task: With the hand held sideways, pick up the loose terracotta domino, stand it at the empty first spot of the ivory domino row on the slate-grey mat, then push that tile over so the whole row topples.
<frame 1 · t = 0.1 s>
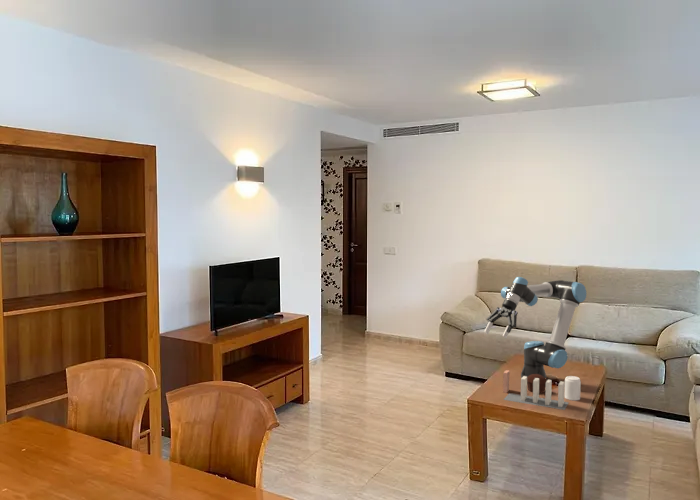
hand: (494, 334, 305), 36 cm above the table, tool tilted 35°, fingers open, 13 cm apart
domino 4: (548, 403, 297), point 1 cm above the table, touching mat
domino 5: (560, 405, 294), point 1 cm above the table, touching mat
domino 3: (535, 401, 300), point 1 cm above the table, touching mat
muffin: (536, 392, 318), on the table
beverage can: (572, 399, 305), on the table
mat: (535, 402, 300), on the table
domino 2: (523, 399, 304), point 1 cm above the table, touching mat
domino 1: (506, 392, 317), on the table
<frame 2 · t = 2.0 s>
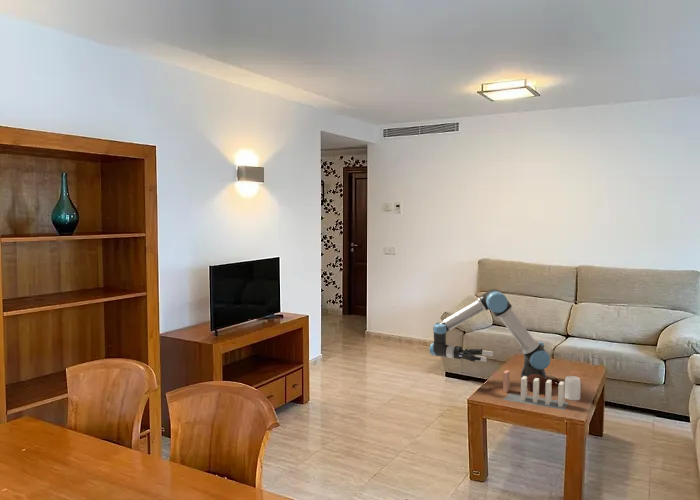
hand: (489, 356, 321), 19 cm above the table, tool horizontal, fingers open, 13 cm apart
nothing on the table moved.
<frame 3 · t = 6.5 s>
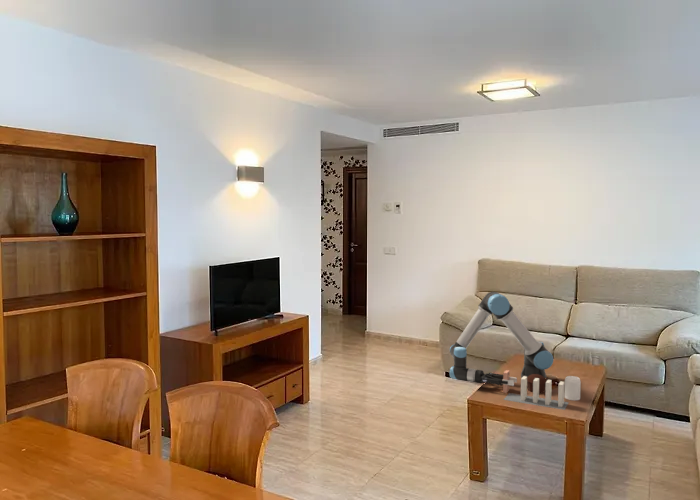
hand: (515, 381, 314), 7 cm above the table, tool horizontal, fingers closed on domino 1, 6 cm apart
domino 1: (506, 392, 317), on the table, touching gripper
everything else where it was.
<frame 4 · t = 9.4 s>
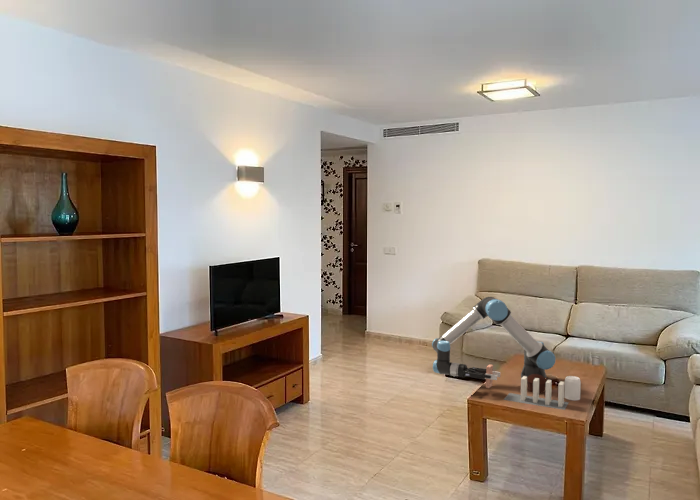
hand: (498, 376, 310), 11 cm above the table, tool horizontal, fingers closed on domino 1, 6 cm apart
domino 1: (489, 386, 313), point 5 cm above the table, touching gripper
everything else where it was.
when the fingers open (9 cm above the table, at t = 12.5 s): domino 1 drops 1 cm, resting on mat.
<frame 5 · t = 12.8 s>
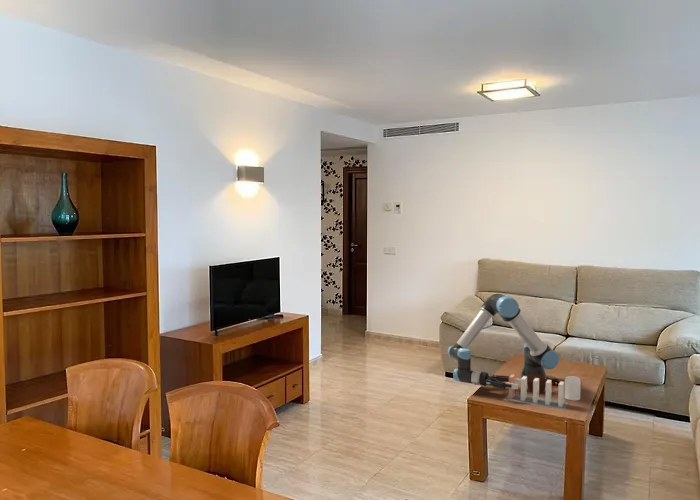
hand: (520, 384, 304), 9 cm above the table, tool horizontal, fingers open, 9 cm apart
domino 1: (511, 397, 307), point 1 cm above the table, touching mat
everything else where it was.
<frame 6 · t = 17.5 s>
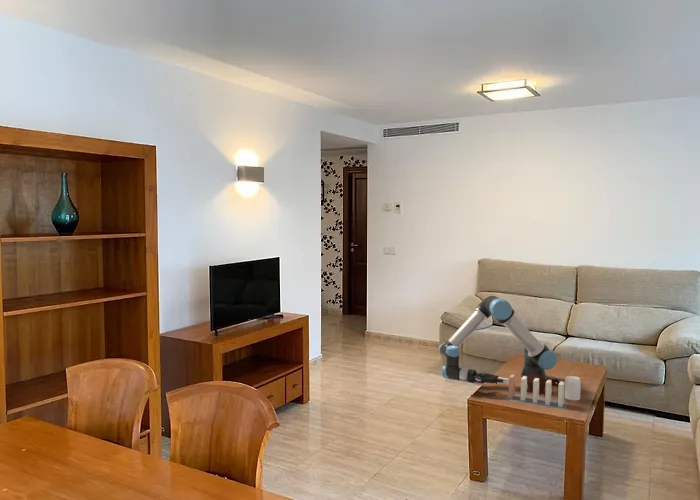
hand: (509, 381, 307), 9 cm above the table, tool horizontal, fingers closed
domino 1: (511, 397, 307), point 1 cm above the table, touching gripper, mat
everything else where it was.
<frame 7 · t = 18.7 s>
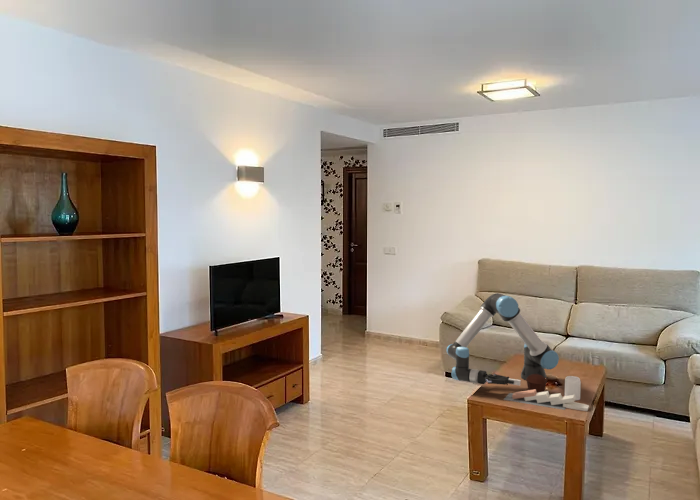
hand: (520, 382, 304), 9 cm above the table, tool horizontal, fingers closed
domino 4: (551, 401, 296), point 2 cm above the table, tilted 70°, touching domino 3, domino 5, mat
domino 5: (563, 403, 293), point 2 cm above the table, tilted 94°, touching domino 4, mat
domino 3: (538, 399, 300), point 2 cm above the table, tilted 72°, touching domino 2, domino 4, mat
domino 2: (526, 397, 303), point 2 cm above the table, tilted 72°, touching domino 1, domino 3
domino 1: (513, 395, 306), point 2 cm above the table, tilted 72°, touching domino 2, mat
everything else where it was.
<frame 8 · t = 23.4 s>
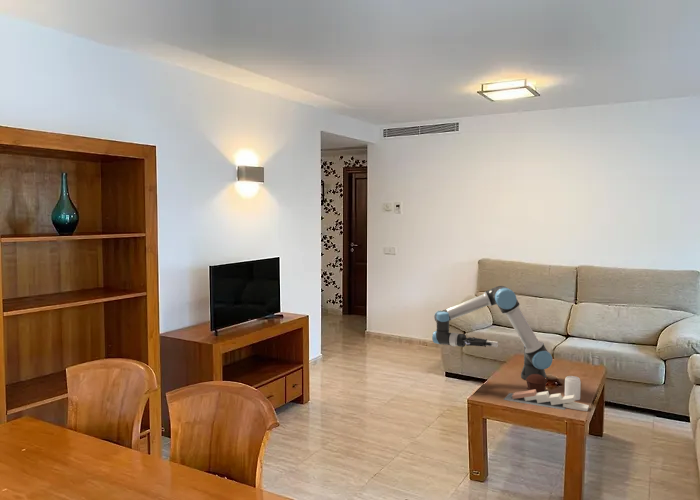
hand: (497, 344, 315), 28 cm above the table, tool horizontal, fingers closed
domino 2: (526, 397, 303), point 2 cm above the table, tilted 72°, touching domino 1, domino 3, mat
everything else where it was.
at the end: domino 1 inside the target area (1.4 cm from its centre), point 1.6 cm above the table; domino 1 tilted 72°; domino 5 tilted 94° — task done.
